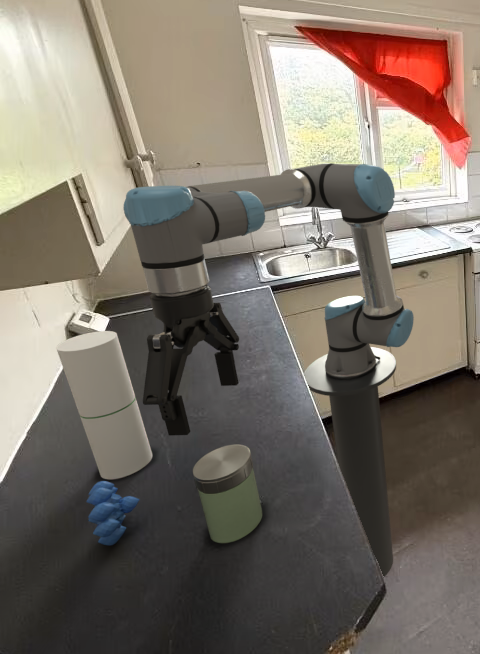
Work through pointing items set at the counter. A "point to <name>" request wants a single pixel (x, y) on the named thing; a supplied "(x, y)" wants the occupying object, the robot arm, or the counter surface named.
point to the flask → (232, 511)
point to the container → (106, 402)
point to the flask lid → (222, 469)
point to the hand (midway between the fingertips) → (207, 407)
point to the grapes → (109, 511)
